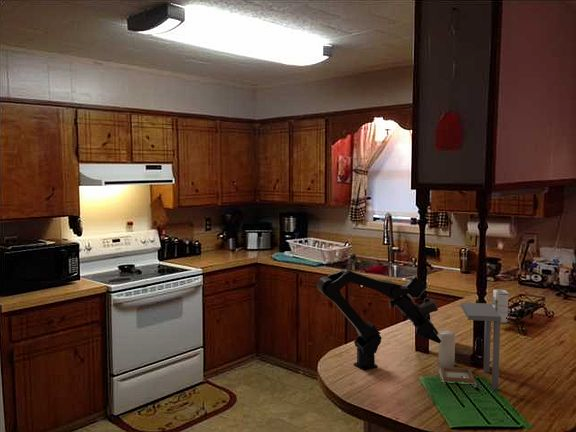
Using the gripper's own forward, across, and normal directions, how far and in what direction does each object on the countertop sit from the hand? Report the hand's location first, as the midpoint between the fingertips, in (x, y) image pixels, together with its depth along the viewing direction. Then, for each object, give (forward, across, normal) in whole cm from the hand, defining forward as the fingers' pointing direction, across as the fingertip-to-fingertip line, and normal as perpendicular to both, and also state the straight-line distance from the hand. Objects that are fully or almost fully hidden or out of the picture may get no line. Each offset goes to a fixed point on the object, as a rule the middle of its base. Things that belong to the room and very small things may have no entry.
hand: (438, 338), depth 189 cm
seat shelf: (+13, -12, +1) cm, 17 cm away
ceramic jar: (+9, 0, +5) cm, 10 cm away
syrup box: (+31, +58, -17) cm, 68 cm away
